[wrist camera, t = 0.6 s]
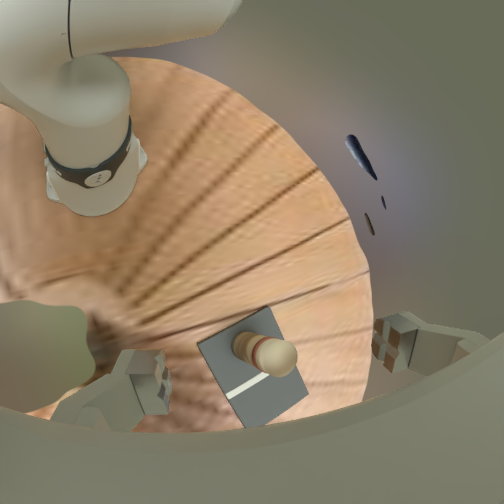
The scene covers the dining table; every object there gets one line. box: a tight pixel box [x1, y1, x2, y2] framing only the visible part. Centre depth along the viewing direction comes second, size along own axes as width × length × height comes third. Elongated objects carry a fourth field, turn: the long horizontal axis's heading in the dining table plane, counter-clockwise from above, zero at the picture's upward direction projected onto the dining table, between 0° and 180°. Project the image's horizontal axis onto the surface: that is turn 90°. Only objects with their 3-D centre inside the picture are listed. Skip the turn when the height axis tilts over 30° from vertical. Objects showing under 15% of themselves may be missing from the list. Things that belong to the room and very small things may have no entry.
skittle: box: [231, 331, 297, 377], centre depth 39 cm, size 5×5×12 cm
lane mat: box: [197, 306, 309, 428], centre depth 45 cm, size 20×14×1 cm
